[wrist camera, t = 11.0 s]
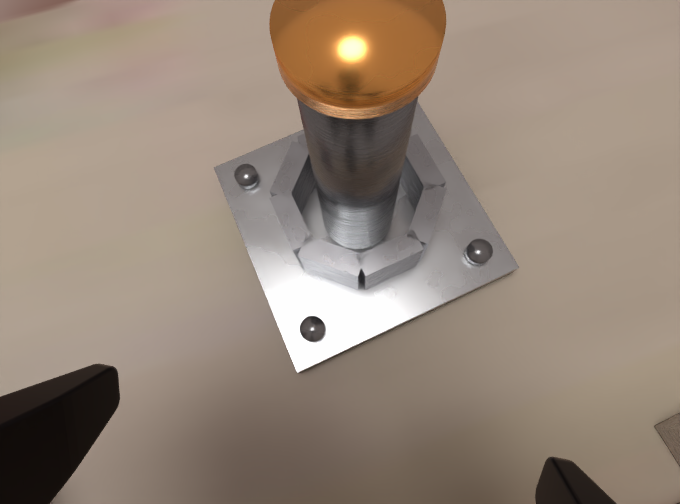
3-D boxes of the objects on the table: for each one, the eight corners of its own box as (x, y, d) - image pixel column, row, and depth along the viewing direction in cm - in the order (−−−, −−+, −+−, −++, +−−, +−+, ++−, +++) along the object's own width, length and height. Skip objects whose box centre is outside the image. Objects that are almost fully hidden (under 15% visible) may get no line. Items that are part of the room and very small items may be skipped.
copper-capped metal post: (414, 214, 22) (482, 13, 10) (358, 271, 21) (360, 126, 9) (356, 165, 23) (354, -73, 11) (301, 217, 22) (233, 23, 10)
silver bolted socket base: (512, 272, 22) (544, 249, 18) (300, 372, 21) (286, 371, 17) (405, 96, 25) (413, 45, 21) (219, 175, 24) (192, 137, 20)
